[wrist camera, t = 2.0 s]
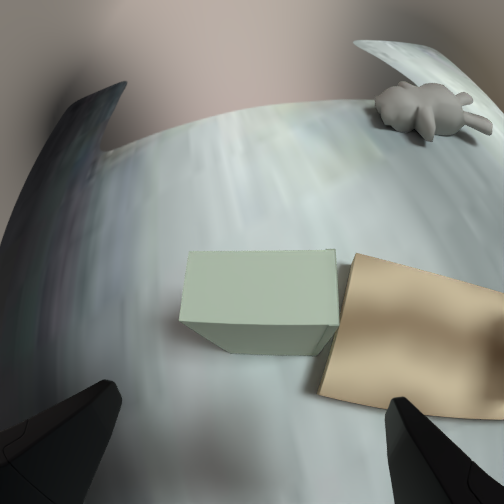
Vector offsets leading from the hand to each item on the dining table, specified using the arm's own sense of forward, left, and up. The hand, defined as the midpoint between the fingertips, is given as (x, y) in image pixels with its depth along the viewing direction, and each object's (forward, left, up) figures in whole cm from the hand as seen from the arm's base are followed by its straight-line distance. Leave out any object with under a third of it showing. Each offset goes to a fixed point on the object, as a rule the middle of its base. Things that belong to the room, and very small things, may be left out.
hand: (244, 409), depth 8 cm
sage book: (+4, +3, -11) cm, 12 cm away
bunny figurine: (+34, +2, -12) cm, 36 cm away
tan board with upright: (+10, -9, -11) cm, 18 cm away
